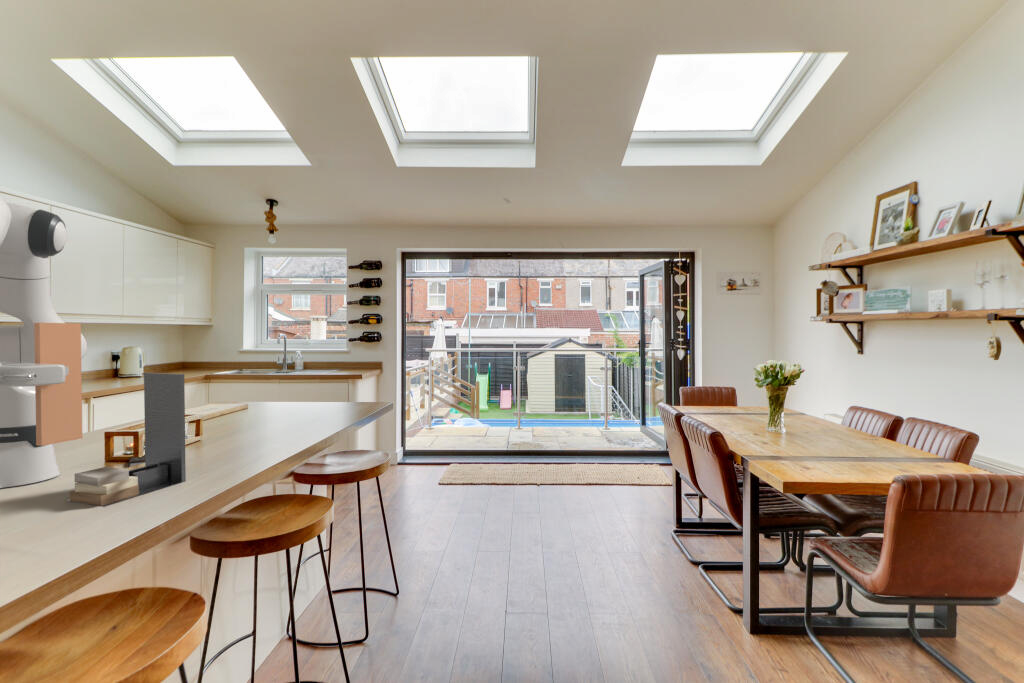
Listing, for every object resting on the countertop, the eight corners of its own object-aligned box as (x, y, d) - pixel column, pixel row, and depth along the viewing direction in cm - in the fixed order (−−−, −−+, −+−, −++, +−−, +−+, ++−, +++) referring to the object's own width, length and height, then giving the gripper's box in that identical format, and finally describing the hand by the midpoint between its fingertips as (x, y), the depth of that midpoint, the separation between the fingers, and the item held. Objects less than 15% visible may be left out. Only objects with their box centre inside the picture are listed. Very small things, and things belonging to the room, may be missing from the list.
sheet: (41, 445, 96) (39, 322, 95) (36, 445, 96) (34, 322, 96) (82, 438, 102) (80, 323, 102) (77, 437, 103) (75, 323, 102)
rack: (104, 513, 102) (102, 381, 101) (65, 507, 106) (63, 379, 105) (185, 487, 119) (184, 374, 118) (149, 482, 123) (148, 372, 122)
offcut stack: (101, 505, 102) (101, 479, 102) (70, 500, 105) (69, 474, 105) (139, 493, 110) (139, 469, 110) (109, 489, 113) (109, 465, 113)
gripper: (5, 359, 83) (96, 355, 96) (-66, 357, 89) (28, 354, 102) (6, 397, 83) (97, 388, 96) (-66, 392, 89) (29, 384, 103)
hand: (61, 370), depth 99 cm, fingers closed on sheet, 2 cm apart
